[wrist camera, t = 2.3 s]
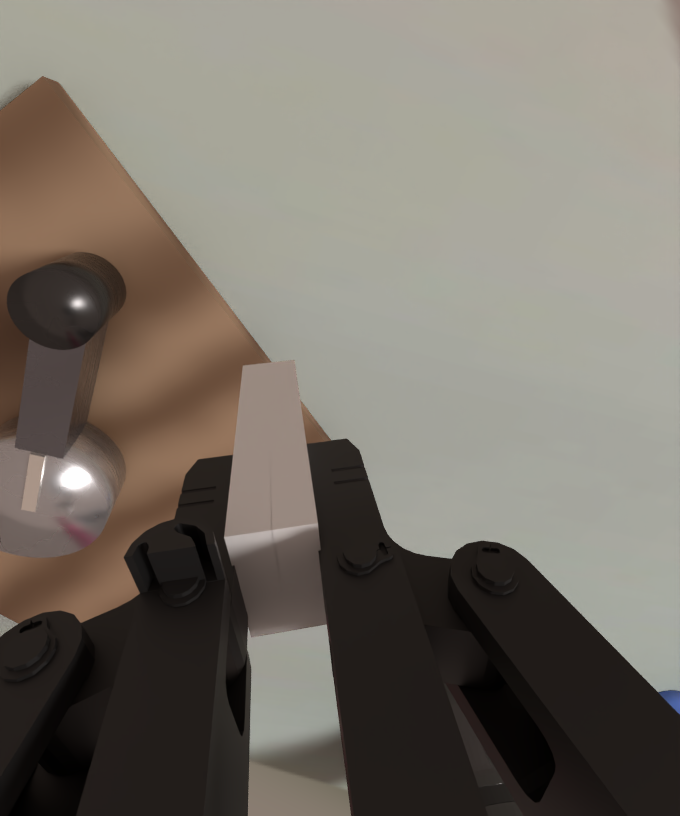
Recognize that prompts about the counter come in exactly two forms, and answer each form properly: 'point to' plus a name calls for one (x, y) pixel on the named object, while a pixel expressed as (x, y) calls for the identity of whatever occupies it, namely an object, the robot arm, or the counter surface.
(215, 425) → the wooden cutting board
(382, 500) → the counter surface
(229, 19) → the counter surface
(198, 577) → the robot arm
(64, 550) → the dark grey dumbbell shape
